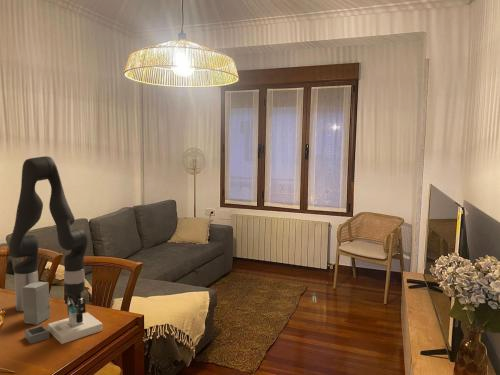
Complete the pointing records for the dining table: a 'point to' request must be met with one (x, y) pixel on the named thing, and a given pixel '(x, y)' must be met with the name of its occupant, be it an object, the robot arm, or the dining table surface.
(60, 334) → the port plate
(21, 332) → the dining table surface
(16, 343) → the dining table surface
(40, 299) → the skincare box
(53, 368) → the dining table surface
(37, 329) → the holster
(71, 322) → the plug
